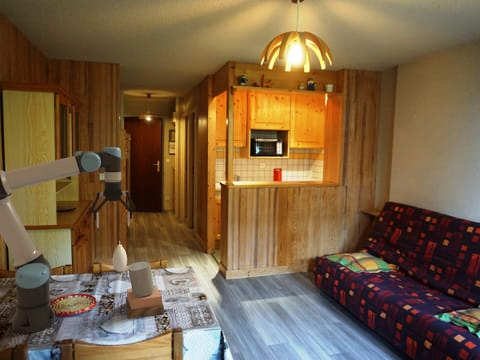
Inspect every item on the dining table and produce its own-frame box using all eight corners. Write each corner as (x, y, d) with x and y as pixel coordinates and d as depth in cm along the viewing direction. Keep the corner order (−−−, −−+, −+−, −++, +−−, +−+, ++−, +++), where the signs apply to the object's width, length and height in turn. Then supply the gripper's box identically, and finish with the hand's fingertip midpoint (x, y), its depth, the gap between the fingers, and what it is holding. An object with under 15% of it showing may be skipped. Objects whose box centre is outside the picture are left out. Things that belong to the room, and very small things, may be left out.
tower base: (127, 320, 156) (127, 311, 155) (125, 305, 170) (125, 296, 169) (163, 315, 161) (163, 306, 160) (158, 300, 175) (158, 292, 174)
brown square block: (131, 309, 156) (131, 300, 156) (127, 297, 168) (126, 289, 168) (161, 304, 162) (161, 296, 161) (155, 293, 173) (155, 285, 173)
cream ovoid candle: (129, 269, 213) (129, 239, 211) (123, 274, 205) (123, 242, 203) (116, 268, 214) (115, 238, 212) (110, 273, 206) (109, 242, 204)
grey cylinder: (141, 284, 170) (137, 260, 168) (158, 287, 166) (154, 261, 164) (128, 295, 162) (123, 269, 159) (145, 297, 158) (141, 271, 155)
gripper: (140, 179, 177) (140, 223, 179) (83, 180, 168) (84, 226, 170) (141, 181, 170) (141, 226, 172) (82, 182, 161) (83, 229, 163)
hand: (113, 226), depth 171 cm, fingers open, 13 cm apart
